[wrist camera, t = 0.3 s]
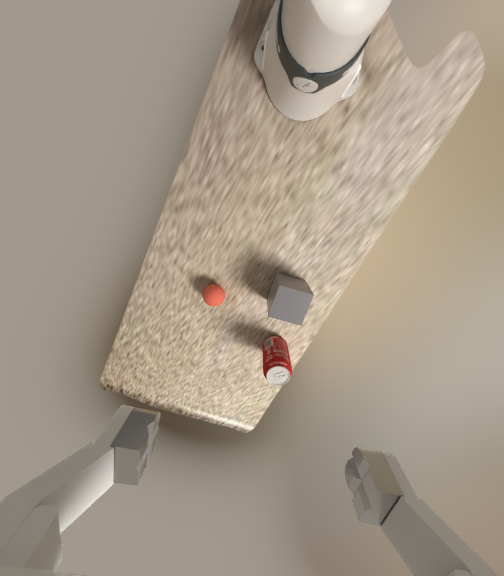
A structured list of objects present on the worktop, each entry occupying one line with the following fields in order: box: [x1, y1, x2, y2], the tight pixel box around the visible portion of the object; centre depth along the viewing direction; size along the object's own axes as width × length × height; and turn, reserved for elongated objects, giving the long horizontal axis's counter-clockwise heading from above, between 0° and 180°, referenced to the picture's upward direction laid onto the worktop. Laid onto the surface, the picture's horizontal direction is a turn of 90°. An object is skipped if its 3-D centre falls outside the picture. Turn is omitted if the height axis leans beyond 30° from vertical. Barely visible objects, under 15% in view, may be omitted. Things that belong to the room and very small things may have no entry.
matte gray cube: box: [267, 273, 314, 325], centre depth 53 cm, size 7×7×9 cm
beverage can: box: [263, 336, 292, 386], centre depth 56 cm, size 6×6×12 cm
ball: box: [203, 285, 225, 306], centre depth 55 cm, size 5×5×5 cm
